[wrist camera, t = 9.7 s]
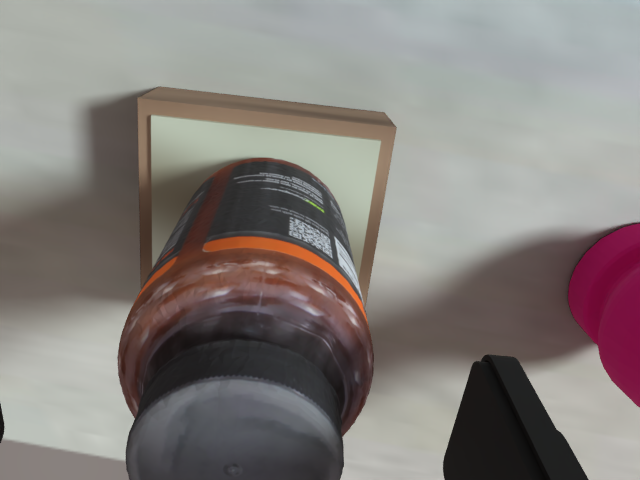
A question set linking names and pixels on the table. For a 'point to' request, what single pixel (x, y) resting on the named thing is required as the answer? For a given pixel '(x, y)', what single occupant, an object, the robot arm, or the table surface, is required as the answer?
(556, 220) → the table surface
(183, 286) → the supplement bottle
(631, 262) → the pepper mill
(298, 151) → the base
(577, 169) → the table surface
